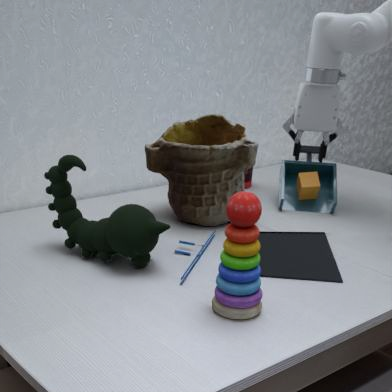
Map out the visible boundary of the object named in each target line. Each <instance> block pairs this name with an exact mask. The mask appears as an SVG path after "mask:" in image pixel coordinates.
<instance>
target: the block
mask: <svg viewBox="0 0 392 392" xmlns="http://www.w3.org/2000/svg"><path fill="white" fill-rule="evenodd" d="M319 189H320V182H319V177H318V173H317V172H303V173H299V174H298V178H297V182H296V190H297V195H298V200H306V199H317V196H318V193H319Z"/></svg>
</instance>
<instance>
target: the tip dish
mask: <svg viewBox="0 0 392 392" xmlns="http://www.w3.org/2000/svg"><path fill="white" fill-rule="evenodd" d="M320 149H321V147H320V145H306V144H301V148H300V154H305V160H298V161H296V160H290V159H289V160H288V159H282V160H281V164H280V168H279V174H278V175H279V177H278V205H277V209H278V211H291V212H305V213H321V214H331V215H332V214H334V213H335V210H336V207H337V205H338V173H337V171H338V170H337V169H338V168H337V166H338V165H337V163H335V162H323V161H322V162H319V161H313V155H319V154H320ZM303 172H317V173H318V177H319V182H320V189H319V193H318V196H317V199H306V200H298V195H297V190H296V182H297V178H298V174H299V173H303Z"/></svg>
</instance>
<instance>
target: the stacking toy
mask: <svg viewBox="0 0 392 392" xmlns="http://www.w3.org/2000/svg"><path fill="white" fill-rule="evenodd" d="M262 211H263V206H262V203H261V200H260V199H259V197H258V196H257V195H256V194H255V193H253V192H251V191H246V190H245V191H242V192H238V193H236V194H234V195H233V196H232V197H231V198H230V199H229V201H228V203H227V206H226V214H227V217H228V219H229V221H228V222H230V223H228V224H227V225H226V227H225V229H224V235H225V237H226V238H225V239H224V241H223V244H222V247H223V250H222V251H221V253H220V257H219V258H220V262H219V264H218V268H217V269H218V274H217V275H216V277H215V284H216V286H215V288H214V296H213V297H212V300H211V306H212V308H213V310H214V311H215V313H217V314H218V315H219V316H222V317H224V318H227V319H231V320H248V319H251V318H254V317H256V316H257V315H258V314H260V313H261V311H262V310H263V302H262V298H263V290H262V288H261V286H262V278H261V277H259V276H260V273H261V268H260V266H259V262H260V255H259V253H258V252H259V250H260V242H259V241H258V240H257V238H258V237H259V234H260V229H259V226H258V225H256V224H257V223H258V221H259V220H260V218H261V216H262Z"/></svg>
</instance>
